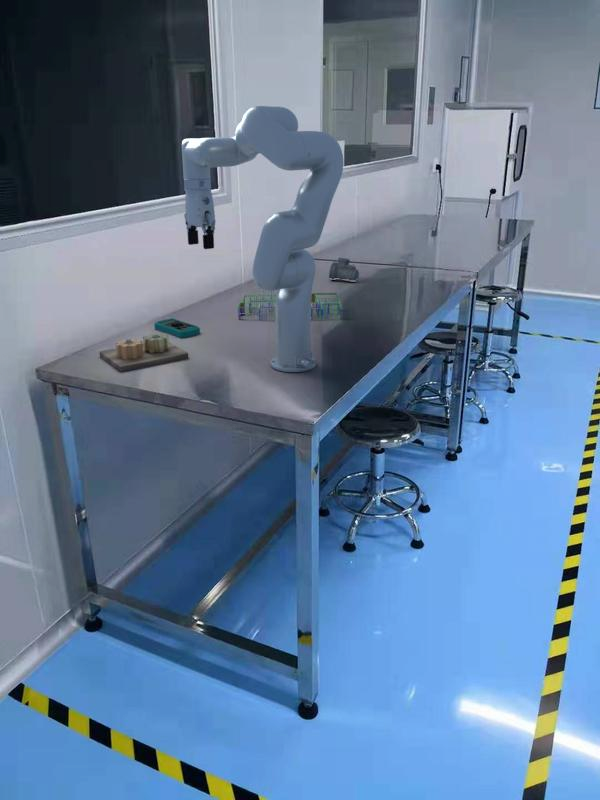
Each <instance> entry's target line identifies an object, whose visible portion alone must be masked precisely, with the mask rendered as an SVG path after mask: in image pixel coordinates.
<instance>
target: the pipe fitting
mask: <svg viewBox="0 0 600 800" xmlns="http://www.w3.org/2000/svg"><path fill="white" fill-rule="evenodd" d="M350 261H351V259H349V258H345V257H338V258H337V262H336V261H334V262H332V264H331V265H330V268H329V272H328V279H329V278H332V279H334V278H340V279H349V280H356V279H357V278H358V279H359V276H360V271H359V270H358V269H357V266H355V265H354V264H350Z"/></svg>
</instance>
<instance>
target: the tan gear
mask: <svg viewBox="0 0 600 800" xmlns="http://www.w3.org/2000/svg"><path fill="white" fill-rule="evenodd" d="M126 339H127V338H126ZM126 339H122V340H121V341H117V342H115V349H116V352H117V357H118V358H121V357H122V358H123V359H128V358H133V359H134V358H137V357H138V356H143V346H142V344H143V340H141V339H139V340H138V339H136V338H130V339H131V343H132V344H126Z"/></svg>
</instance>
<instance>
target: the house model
mask: <svg viewBox="0 0 600 800" xmlns="http://www.w3.org/2000/svg"><path fill="white" fill-rule="evenodd" d="M251 292H252V295H249V302H246V295H244V296H243V298H242V302H239V304H238V307H237V309H238V310H237V311H238V313H237V314H240V313H241V315H238V319H239V318H240V317H241V319H243V315H242V313H245V316H248V315H249V313H250V311H251V313H250V315H251V316H250V319H251V320H253V319H254V318H253V317H252V316H253V315H252V313H253V310H256V309H258V320H260V321H261V315H260V313H261V314H262V313H263V318H266V313H267V312H268V311H269V312H270V313H271V314H270V316H271V319H270V320H272V318H273V315H274V310H275V309H276V308H275V304H276V296H277V294H272V297H274V300H270V299H271V295H270V291H267V299H265V300H262V295H255V298H256V299H255V300H252V297H253V298H254V294H253V291H251ZM254 293H255V294H258V291H256V290H254ZM317 295H325V296H326V295H330V296H331V295H334V296H335V295H336V296H335V297H321V298H320V297H317ZM259 297H260V299H259V300H258V298H259ZM336 297H337V298H336ZM263 298H266V295H263ZM268 298H269V300H268ZM326 299H327V300H326ZM329 299H330V300H332V299H333V300H337V301H336V302H335V301H331V302H330V301H328V300H329ZM321 300H324V301H321ZM252 303H253V306H254V305H255V307H253V306H252ZM256 303H258V306H259V307H258V306H256ZM261 303H267V305H266V304H261ZM311 303H313V305H312V304H311V317H312V319H313V315H314V310H315V313H317V317H318V316H319V317H321V316H322V317H321V319H322V318H323V316H324V315H326V319H327V318H328V319H329V317H331V316H332V315H336V314H337V317H336V319H337V318H338V317H339V315H340V317H339V318H338V319H340V318H342V315H341V313H342V306H341V303H340V300H339V296H338V294H337V292H331V293H330V292H327V293H325V292H317V293H313V292H312V296H311ZM314 303H315V305H314ZM246 304H248V306H246ZM273 306H274V307H273ZM332 306H334V307H332ZM246 309H248V312H246ZM252 309H253V310H252ZM266 309H267V310H266ZM325 309H326V312H324V310H325ZM332 310H334V311H337V312H332ZM269 312H268V313H269ZM319 312H320V313H319ZM253 314H254V313H253ZM272 314H273V315H272ZM328 314H329V315H328ZM312 319H311V320H312ZM274 320H275V321H276V316H275V315H274Z"/></svg>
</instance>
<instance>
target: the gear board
mask: <svg viewBox="0 0 600 800" xmlns="http://www.w3.org/2000/svg"><path fill="white" fill-rule="evenodd" d="M152 334H153V338H158V333H152ZM131 339H132V338H126V344H132V343H131ZM142 346H143V356H138V357H137V358H134V359H133V358H128V359H123V358H122V357H121V358H118V357H117V352H116V348H112V349H106V350H105V349H104V350H100V351H99V357H100V358H101V359H102V360H104V361H105V362H106V363H108V364H109V365H111V366H112V367H113V368H114V369H116V370H117V371H119V372H120V373H122V372H127V371H128V372H129V371H133V370H138V369H142V368H147V367H151V366H157V365H161V364H166V363H172V362H176V361H181V360H182V361H183V360H188V359H189V353H188V352H187V351H185V350H183V349H182V348H179V347H178V346H176V345H175V344H173V343H171V342H170V341H169V350H165V351H164V352H154V353H150V352H149V351H146V352H145V351H144V345H143V343H142Z"/></svg>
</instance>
